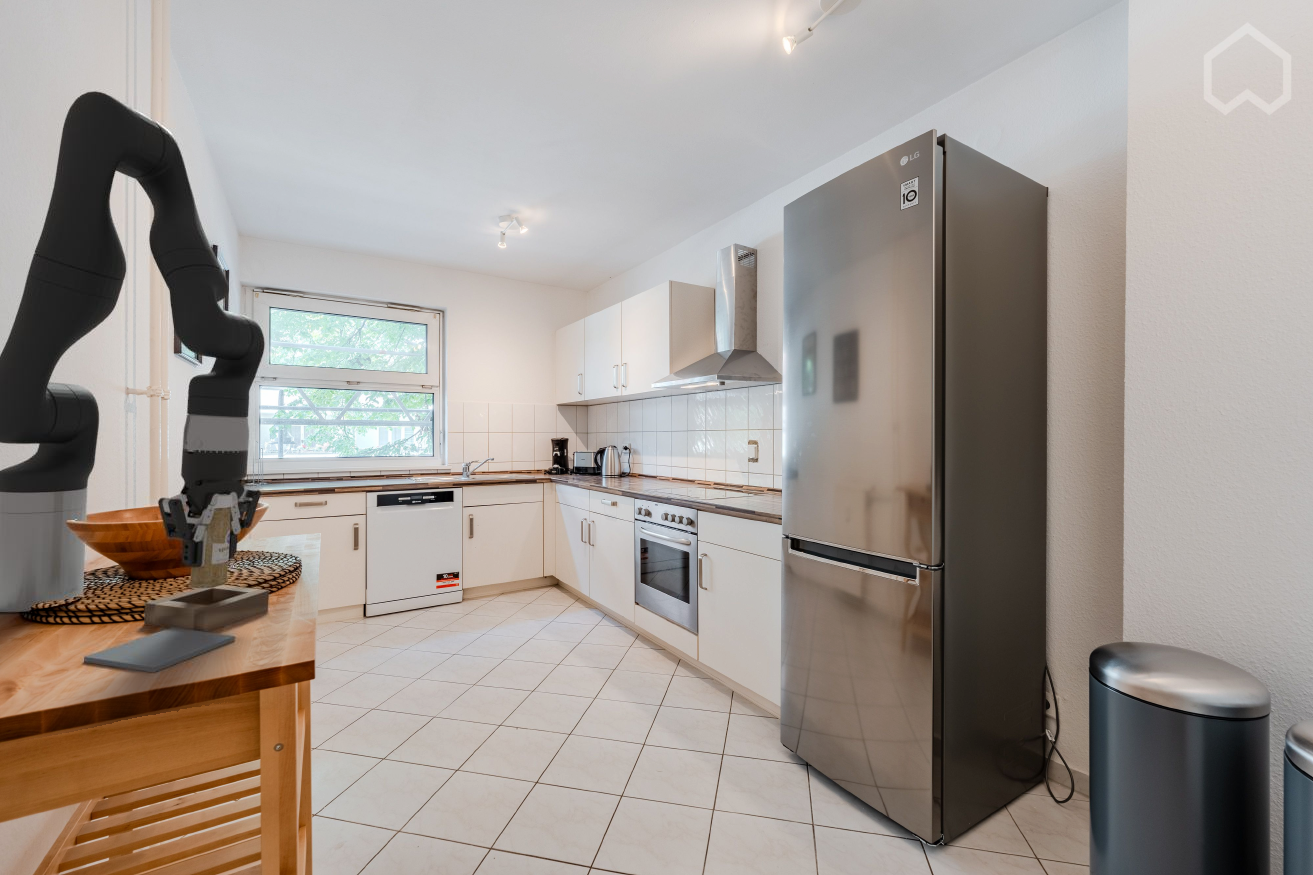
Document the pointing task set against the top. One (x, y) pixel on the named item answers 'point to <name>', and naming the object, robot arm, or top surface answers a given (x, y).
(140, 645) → the slate mat
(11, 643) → the top surface
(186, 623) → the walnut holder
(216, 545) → the sprinkles bottle
